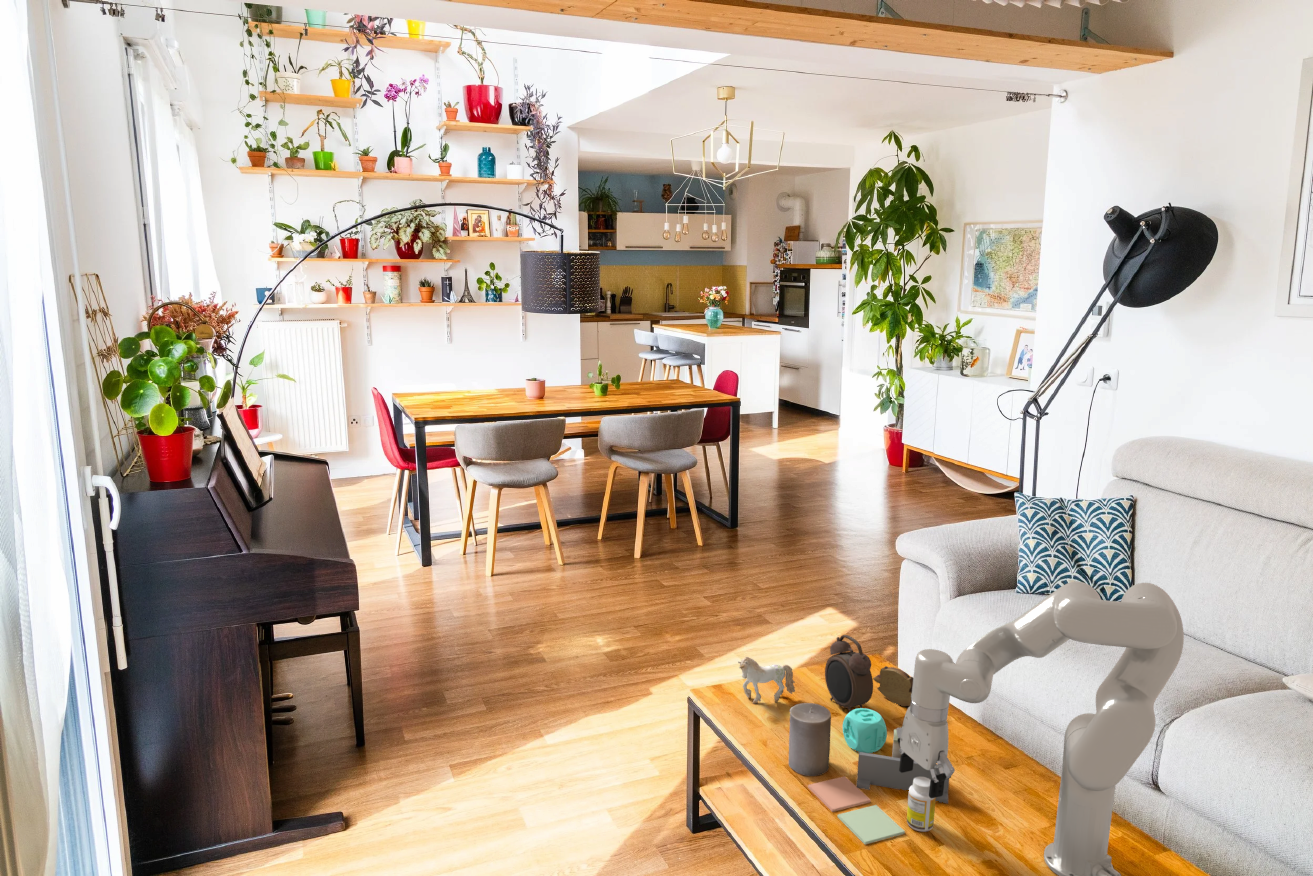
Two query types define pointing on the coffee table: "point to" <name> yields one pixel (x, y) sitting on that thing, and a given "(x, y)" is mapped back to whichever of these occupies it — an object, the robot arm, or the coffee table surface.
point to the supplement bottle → (920, 805)
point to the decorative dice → (864, 730)
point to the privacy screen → (891, 774)
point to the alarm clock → (848, 674)
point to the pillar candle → (809, 739)
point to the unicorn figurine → (765, 677)
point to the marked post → (896, 746)
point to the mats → (862, 822)
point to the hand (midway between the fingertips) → (920, 783)
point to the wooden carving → (895, 685)
